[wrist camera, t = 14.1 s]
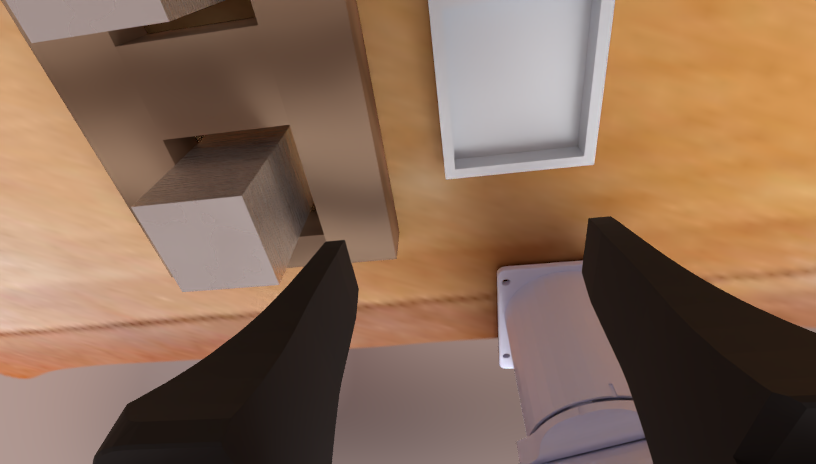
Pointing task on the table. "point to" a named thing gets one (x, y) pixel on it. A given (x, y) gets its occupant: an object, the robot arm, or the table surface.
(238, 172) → the seated billet
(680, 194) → the table surface
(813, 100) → the table surface
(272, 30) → the board
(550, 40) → the shallow grey tray
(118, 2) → the billet
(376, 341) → the table surface
